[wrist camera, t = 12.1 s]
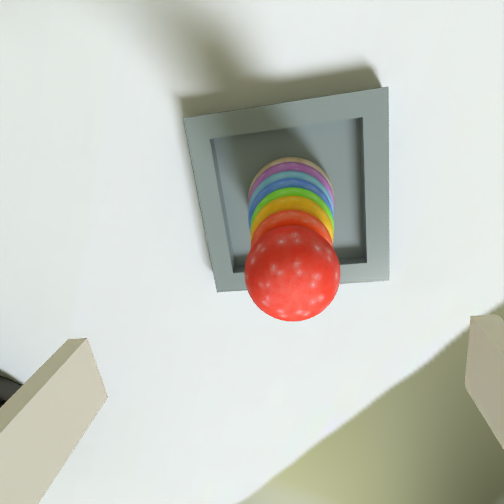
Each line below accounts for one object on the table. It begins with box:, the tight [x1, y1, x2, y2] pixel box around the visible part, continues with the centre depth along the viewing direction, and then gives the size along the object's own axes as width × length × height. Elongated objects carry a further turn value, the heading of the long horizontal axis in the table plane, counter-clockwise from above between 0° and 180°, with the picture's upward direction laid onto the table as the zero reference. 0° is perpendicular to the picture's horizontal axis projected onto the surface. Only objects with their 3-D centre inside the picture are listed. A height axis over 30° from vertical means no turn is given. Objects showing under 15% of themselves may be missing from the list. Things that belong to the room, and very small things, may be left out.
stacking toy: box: [244, 157, 340, 321], centre depth 25 cm, size 8×8×19 cm
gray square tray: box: [183, 87, 389, 292], centre depth 34 cm, size 17×17×2 cm
